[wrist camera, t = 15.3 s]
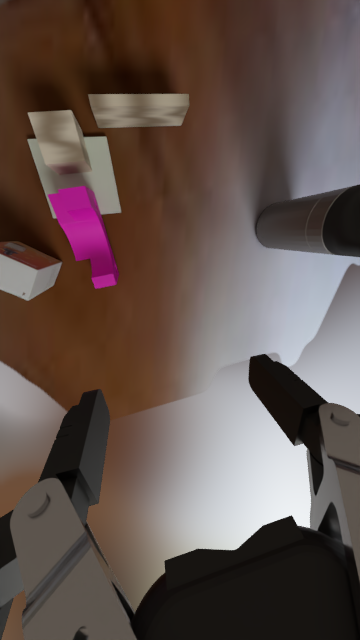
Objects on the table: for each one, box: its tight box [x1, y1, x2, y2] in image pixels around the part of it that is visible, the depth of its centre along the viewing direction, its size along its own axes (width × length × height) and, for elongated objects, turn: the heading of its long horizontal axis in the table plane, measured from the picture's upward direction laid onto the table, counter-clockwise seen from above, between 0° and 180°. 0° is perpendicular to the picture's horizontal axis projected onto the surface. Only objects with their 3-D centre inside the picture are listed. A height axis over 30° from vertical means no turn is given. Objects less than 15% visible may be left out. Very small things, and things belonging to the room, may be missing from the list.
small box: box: [0, 241, 62, 301], centre depth 33 cm, size 8×6×10 cm
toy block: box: [48, 186, 119, 289], centre depth 34 cm, size 15×6×8 cm, turn 9°
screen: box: [88, 94, 189, 128], centre depth 30 cm, size 14×3×6 cm, turn 96°
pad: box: [27, 137, 121, 218], centre depth 34 cm, size 12×11×1 cm
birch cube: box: [28, 110, 93, 175], centre depth 29 cm, size 6×6×6 cm
